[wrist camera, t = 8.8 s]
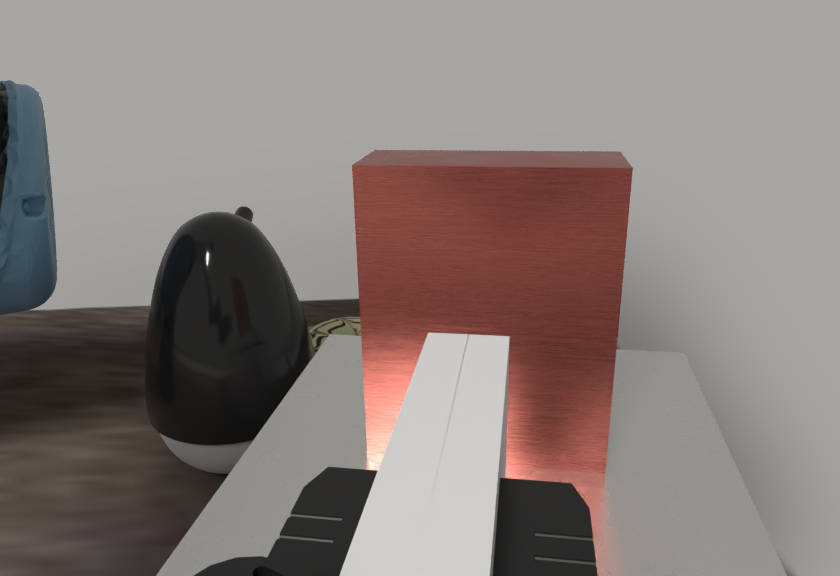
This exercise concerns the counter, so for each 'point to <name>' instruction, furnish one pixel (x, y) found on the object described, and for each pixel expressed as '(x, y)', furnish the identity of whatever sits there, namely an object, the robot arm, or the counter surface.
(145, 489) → the counter surface
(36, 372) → the counter surface
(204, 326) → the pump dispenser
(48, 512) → the counter surface
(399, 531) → the robot arm
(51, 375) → the counter surface
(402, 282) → the lid
